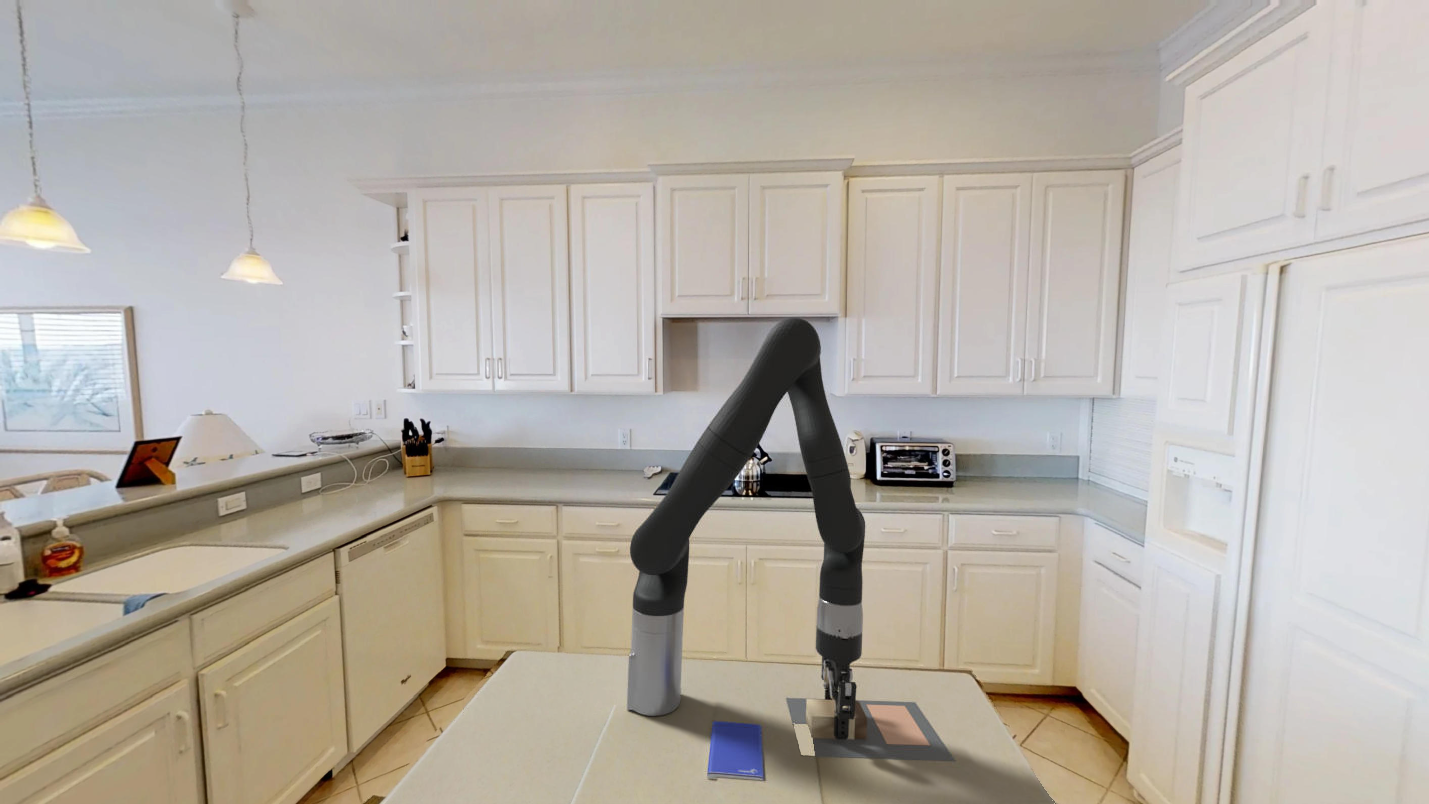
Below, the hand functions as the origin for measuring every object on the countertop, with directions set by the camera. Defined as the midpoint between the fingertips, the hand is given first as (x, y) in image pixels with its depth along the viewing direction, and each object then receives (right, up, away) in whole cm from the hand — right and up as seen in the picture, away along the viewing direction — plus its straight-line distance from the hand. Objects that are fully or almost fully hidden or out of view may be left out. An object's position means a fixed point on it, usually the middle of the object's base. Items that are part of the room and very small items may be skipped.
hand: (835, 724), depth 88 cm
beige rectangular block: (0, -1, 0) cm, 1 cm away
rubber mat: (+5, -1, +1) cm, 5 cm away
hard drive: (-17, -1, -6) cm, 18 cm away
